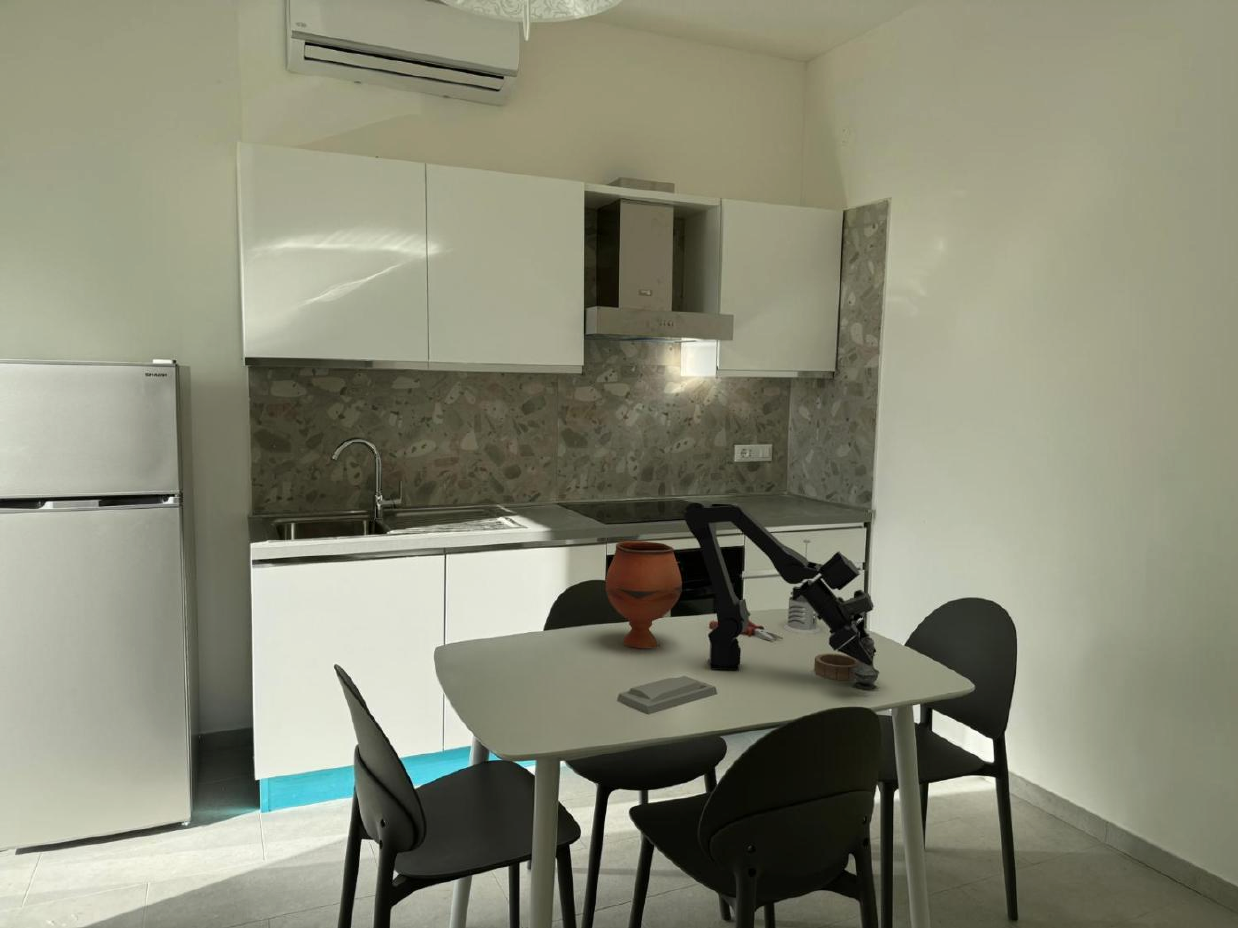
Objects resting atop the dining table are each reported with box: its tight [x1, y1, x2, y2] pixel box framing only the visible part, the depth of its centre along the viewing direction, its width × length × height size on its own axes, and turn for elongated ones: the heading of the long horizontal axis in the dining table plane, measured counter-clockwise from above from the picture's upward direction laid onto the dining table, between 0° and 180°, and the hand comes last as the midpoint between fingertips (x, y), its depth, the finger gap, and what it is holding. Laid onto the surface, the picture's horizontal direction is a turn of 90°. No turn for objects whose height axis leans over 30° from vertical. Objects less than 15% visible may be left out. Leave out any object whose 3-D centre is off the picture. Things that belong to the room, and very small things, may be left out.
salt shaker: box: [851, 633, 881, 692], centre depth 197 cm, size 6×6×12 cm
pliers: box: [708, 619, 784, 642], centre depth 238 cm, size 12×20×3 cm, turn 41°
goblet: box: [605, 540, 683, 649], centre depth 224 cm, size 19×19×25 cm
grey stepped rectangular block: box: [616, 675, 718, 715], centre depth 187 cm, size 10×20×4 cm, turn 131°
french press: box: [783, 537, 821, 635], centre depth 243 cm, size 10×12×25 cm
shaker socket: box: [813, 653, 859, 681], centre depth 207 cm, size 10×10×3 cm
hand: (873, 658), depth 197 cm, fingers open, 9 cm apart
